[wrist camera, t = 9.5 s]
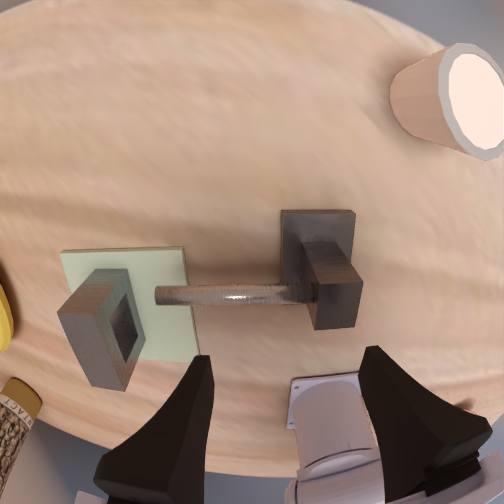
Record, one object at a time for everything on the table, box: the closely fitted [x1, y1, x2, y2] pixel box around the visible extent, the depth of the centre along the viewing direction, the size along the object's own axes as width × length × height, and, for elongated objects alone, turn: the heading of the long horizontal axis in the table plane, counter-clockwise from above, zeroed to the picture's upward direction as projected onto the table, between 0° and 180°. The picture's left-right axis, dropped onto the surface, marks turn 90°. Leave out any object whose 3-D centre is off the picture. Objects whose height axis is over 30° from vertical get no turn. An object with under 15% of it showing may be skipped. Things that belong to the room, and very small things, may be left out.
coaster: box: [59, 247, 200, 362], centre depth 23 cm, size 11×11×1 cm
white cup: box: [389, 43, 504, 161], centre depth 13 cm, size 7×7×7 cm
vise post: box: [154, 210, 363, 330], centre depth 18 cm, size 7×13×7 cm, turn 91°
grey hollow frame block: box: [57, 269, 146, 392], centre depth 19 cm, size 7×3×6 cm, turn 1°
